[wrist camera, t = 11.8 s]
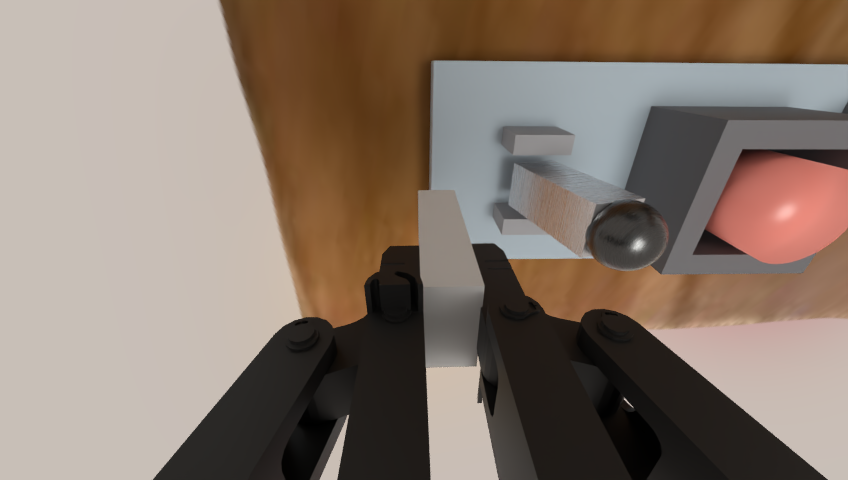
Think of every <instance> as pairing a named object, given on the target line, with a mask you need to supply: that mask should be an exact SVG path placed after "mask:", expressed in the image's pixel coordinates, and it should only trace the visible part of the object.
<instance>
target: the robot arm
mask: <svg viewBox="0 0 848 480" xmlns="http://www.w3.org/2000/svg"><path fill="white" fill-rule="evenodd" d="M418 225H419V246H390V247H389V248H388V249H387V250H386V251H385V252H384V253H383V254H382V260H381V266H380V272H377V273H375V274H373V275H372V276H371V277H369V278H368V279H367V281H366V283H365V285H364V288H365V296H366V305H367V313H368V314H367V315H366V316H365V317H363V318H362V319H360V320H358V321H356V322H354V323H351V324H348V325H344V326H341V327H337V328H333V327H332V325H331V324H330V323H329V322H328V321H327V320H324V319H321V318H318V317H306V318H302V319H298V320H295V321H293V322H291V323H289V324H287V325H285V326H283V327H282V328H281V329H280V330H279V331H278V332H277V333H275V335H274V336H273V337H272V338H271V339H270V341H269V342H268V343H267V344H266V345H265V347H264V348H263V349H262V350H261V351H260V352H259V354H258V355H257V356H256V357H255V358H254V360H253V361H252V362H251V363H250V364H249V366H248V367H247V368H246V369H245V371H244V372H243V373H242V374H241V375H240V376H239V378H238V379H237V380H236V381H235V382H234V383H233V385H232V386H231V387H230V388H229V390H228V391H227V392H226V393H225V395H223V397H222V398H221V399H220V400H219V402H218V403H217V404H216V405H215V406H214V407H213V409H212V410H211V411H210V412H209V413H208V414H207V416H206V417H205V418H204V419H203V420H202V422H201V423H200V424H199V425H198V427H197V428H196V429H195V430H194V431H193V432H192V434H191V435H190V436H189V437H188V438H187V440H186V441H185V442H184V443H183V444H182V445H181V447H180V448H179V449H178V450H177V452H176V453H175V454H174V455H173V456H172V458H171V459H170V460H169V461H168V462H167V463H166V465H165V466H164V467H163V468H162V470H161V471H160V472H159V473H158V474H157V475H156V477H155V478H154V479H153V480H319V479H320V477H321V475H322V472H323V470H324V468H325V466H326V463H327V461H328V459H329V457H330V454H331V452H332V450H333V448H334V445H335V443H336V441H337V438H338V436H339V434H340V432H341V429H342V427H343V425H344V423H345V420H346V417H347V415H349V419H348V424H347V430H346V435H345V441H344V446H343V452H342V457H341V463H340V468H339V474H338V479H337V480H430V457H429V432H428V410H427V409H428V408H427V386H426V385H427V384H426V368H430V367H464V366H465V367H467V366H476V365H477V356H478V357H479V361H480V367H481V371H480V379H479V388H478V403H482V398H483V403H484V408H485V413H486V418H487V423H488V428H489V433H490V438H491V443H492V448H493V453H494V457H495V463H496V468H497V473H498V478H499V480H828V479H826V478H825V477H824V476H823V475H821V474H820V473H819V472H818V471H816V470H815V469H814V468H813V467H812V466H810V465H809V464H808V463H807V462H806V461H805V460H803V459H802V458H801V457H800V456H798V455H797V454H796V453H795V452H793V451H792V450H791V449H790V448H789V447H788V446H786V445H785V444H784V443H783V442H782V441H780V440H779V439H778V438H777V437H775V436H774V435H773V434H772V433H771V432H769V431H768V430H767V429H766V428H765V427H763V426H762V425H761V424H760V423H759V422H757V421H756V420H755V419H754V418H752V417H751V416H750V415H749V414H748V413H746V412H745V411H744V410H743V409H742V408H740V407H739V406H738V405H737V404H736V403H734V402H733V401H732V400H731V399H729V398H728V397H727V396H726V395H725V394H723V393H722V392H721V391H720V390H719V389H717V388H716V387H715V386H714V385H713V384H711V383H710V382H709V381H708V380H707V379H705V378H704V377H703V376H702V375H700V374H699V373H698V372H697V371H696V370H694V369H693V368H692V367H691V366H689V365H688V364H687V363H686V362H685V361H683V360H682V359H681V358H680V357H678V356H677V355H676V354H675V353H674V352H673V351H671V350H670V349H669V348H668V347H666V346H665V345H664V344H663V343H661V341H659V340H658V339H657V338H656V337H654V336H653V335H652V334H651V333H650V332H648V331H647V330H646V329H645V328H644V327H642V326H641V325H640V324H639V323H637V322H636V321H634V320H633V319H631V318H630V317H628V316H626V315H623V314H621V313H618V312H616V311H611V310H606V309H595V310H591V311H588V312H586V313H585V314H584V316H583V317H582V319H581V322H575V321H570V320H565V319H560V318H556V317H552V316H549V315H547V314H546V313H545V312H544V310H543V308H542V307H541V306H540V305H539V303H538V302H536V301H535V300H533V299H532V298H530V297H528V296H525V294H524V292H523V290H522V288H521V286H520V284H519V282H518V280H517V278H516V275H515V273H514V271H513V269H512V267H511V265H510V263H509V262H508V259H507V257H506V255H505V252H504V251H503V250H502V249H501V248H499V247H498V246H497V245H496V244H494V243H476V244H471V241H470V238H469V235H468V232H467V229H466V225H465V222H464V219H463V216H462V213H461V210H460V206H459V203H458V200H457V197H456V194H455V191H454V190H418ZM624 398H626V399H627V401H628V402H629V403H630V404H631V405H632V406H633V407H634V408H632V407H631V406H630V405H629V404H628V403H627V402H626V401H625V400H624Z"/></svg>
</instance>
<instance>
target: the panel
mask: <svg viewBox="0 0 848 480" xmlns="http://www.w3.org/2000/svg"><path fill="white" fill-rule="evenodd" d="M742 149H766V150H770V151H774V152H778V153H782V154H786V155H790V156H794V157H798V158H802V159H806V160H811V161H815V162H819V163H823V164H827V165H831V166H835V167H839V168H843V169H847V170H848V65H841V64H737V63H633V62H528V61H431V101H430V161H429V190H454V191H455V194H456V197H457V200H458V203H459V206H460V210H461V213H462V216H463V219H464V222H465V225H466V229H467V232H468V235H469V238H470V241H471V244H476V243H494V244H496V245H497V246H498V247H499V248H501V249H502V250H503V251H504V252H505V255H506V257H507V259H563V258H580V257H579V256H578V255H576V254H575V253H574V252H572V251H571V250H569V249H568V248H567V247H565V246H564V245H563V244H561V243H560V242H558V241H557V240H556V239H554V238H553V237H552V236H550V235H549V234H548V233H546V232H545V231H543V230H542V229H541V228H539V227H538V226H537V225H535V224H534V223H533V222H531V221H530V220H528V219H527V218H526V217H524V216H523V215H522V214H520V213H519V212H518V211H516V210H515V209H513V208H512V207H511V206H509V205H508V203H509V196H510V189H511V182H512V176H513V169H514V163H524V162H536V161H549V160H553V161H556V162H558V163H561V164H563V165H565V166H568V167H570V168H573V169H575V170H578V171H580V172H582V173H585V174H587V175H590V176H592V177H595V178H597V179H599V180H602V181H604V182H607V183H609V184H612V185H614V186H617V187H619V188H621V189H624V190H626V191H629V192H631V193H634V194H636V195H638V196H641V197H643V198H645V201H644V203H646V204H648V205H650V206H652V207H653V208H655V209H656V210H657V211H658V212H659V213H660V214H661V215H662V216H663V218H664V219H665V221H666V223H667V226H668V231H669V240H668V244H667V247H666V249H665V251H664V253H663V254H662V255H661V257H660V258H659V259H658V260H656V261H655V262H654V263H652V264H651V266H652V267H653V268H654V269H655V270H657V271H658V272H659V273H660V274H758V273H803V272H804V270H805V269H806V267H807V266H808V265H809V263H810V262H811V260H812V259H813V257H814V256H815V254H816V253H817V252H816V253H814V254H812V255H810V256H808V257H805V258H803V259H800V260H797V261H793V262H790V263H784V264H768V263H764V262H761V261H759V260H757V259H755V258H753V257H752V256H750V255H748V254H746V253H745V252H743V251H741V250H739V249H738V248H736V247H734V246H732V245H731V244H729V243H727V242H725V241H724V240H722V239H720V238H719V237H717V236H715V235H713V234H712V233H710V232H708V231H706V230H705V227H706V225H707V223H708V221H709V219H710V217H711V215H712V212H713V210H714V208H715V206H716V204H717V202H718V200H719V198H720V196H721V193H722V191H723V189H724V187H725V185H726V183H727V181H728V179H729V177H730V175H731V172H732V170H733V168H734V166H735V164H736V162H737V160H738V158H739V156H740V154H741V151H742ZM583 258H594V257H593V256H589V257H583Z"/></svg>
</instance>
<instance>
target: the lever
mask: <svg viewBox="0 0 848 480" xmlns="http://www.w3.org/2000/svg"><path fill="white" fill-rule="evenodd" d="M644 201H645V198H643V197H641V196H638V195H636V194H634V193H631V192H629V191H626V190H624V189H621V188H619V187H617V186H614V185H612V184H609V183H607V182H604V181H602V180H599V179H597V178H595V177H592V176H590V175H587V174H585V173H582V172H580V171H578V170H575V169H573V168H570V167H568V166H565V165H563V164H561V163H558V162H556V161H553V160H549V161H536V162H524V163H514V169H513V176H512V182H511V189H510V196H509V203H508V205H509V206H511V207H512V208H513V209H515V210H516V211H518V212H519V213H520V214H522V215H523V216H524V217H526V218H527V219H528V220H530V221H531V222H533V223H534V224H535V225H537V226H538V227H539V228H541V229H542V230H543V231H545V232H546V233H548V234H549V235H550V236H552V237H553V238H554V239H556V240H557V241H558V242H560V243H561V244H563V245H564V246H565V247H567V248H568V249H569V250H571V251H572V252H574V253H575V254H576V255H578V256H579V257H580V258H583V257H589V256H593V257H594V258H595V259H596V260H597V261H598V262H599V263H601V264H602V265H604V266H606V267H608V268H611V269H614V270H619V271H633V270H639V269H642V268H645V267H647V266H649V265H651V264H652V263H654V262H655V261H656V260H658V259H659V258H660V257H661V255H662V254H663V253H664V251H665V249H666V247H667V244H668V240H669V231H668V226H667V223H666V221H665V219H664V218H663V216H662V215H661V214H660V213H659V212H658V211H657V210H656V209H655V208H653V207H652V206H650V205H648V204H646V203H644Z"/></svg>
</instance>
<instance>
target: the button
mask: <svg viewBox="0 0 848 480" xmlns="http://www.w3.org/2000/svg"><path fill="white" fill-rule="evenodd" d="M847 228H848V170H847V169H843V168H839V167H835V166H831V165H827V164H823V163H819V162H815V161H811V160H806V159H802V158H798V157H794V156H790V155H786V154H782V153H778V152H774V151H770V150H766V149H742V151H741V154H740V156H739V158H738V160H737V162H736V164H735V166H734V168H733V170H732V172H731V175H730V177H729V179H728V181H727V183H726V185H725V187H724V189H723V191H722V193H721V196H720V198H719V200H718V202H717V204H716V206H715V208H714V210H713V212H712V215H711V217H710V219H709V221H708V223H707V225H706V227H705V230H706V231H708V232H710V233H712V234H713V235H715V236H717V237H719V238H720V239H722V240H724V241H725V242H727V243H729V244H731V245H732V246H734V247H736V248H738V249H739V250H741V251H743V252H745V253H746V254H748V255H750V256H752V257H753V258H755V259H757V260H759V261H761V262H764V263H768V264H784V263H790V262H793V261H797V260H800V259H803V258H805V257H808V256H810V255H812V254H814V253H816V252H818V251H820V250H821V249H823V248H825V247H826V246H827V245H829V244H830V243H832V242H833V241H834V240H836V239H837V238H838V237H839V236H840V235H841V234H842V233H843V232H844V231H845V230H846V229H847Z"/></svg>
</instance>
